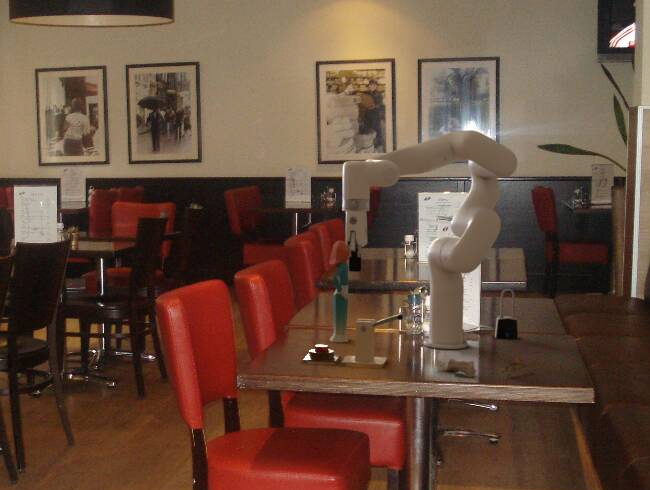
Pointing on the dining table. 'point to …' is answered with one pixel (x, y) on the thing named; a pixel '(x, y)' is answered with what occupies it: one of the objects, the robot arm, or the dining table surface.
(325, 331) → the dining table surface
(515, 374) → the fish
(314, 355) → the button box
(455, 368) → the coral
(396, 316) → the lever
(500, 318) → the padlock
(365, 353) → the bracket
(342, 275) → the sculpture
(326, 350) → the button
